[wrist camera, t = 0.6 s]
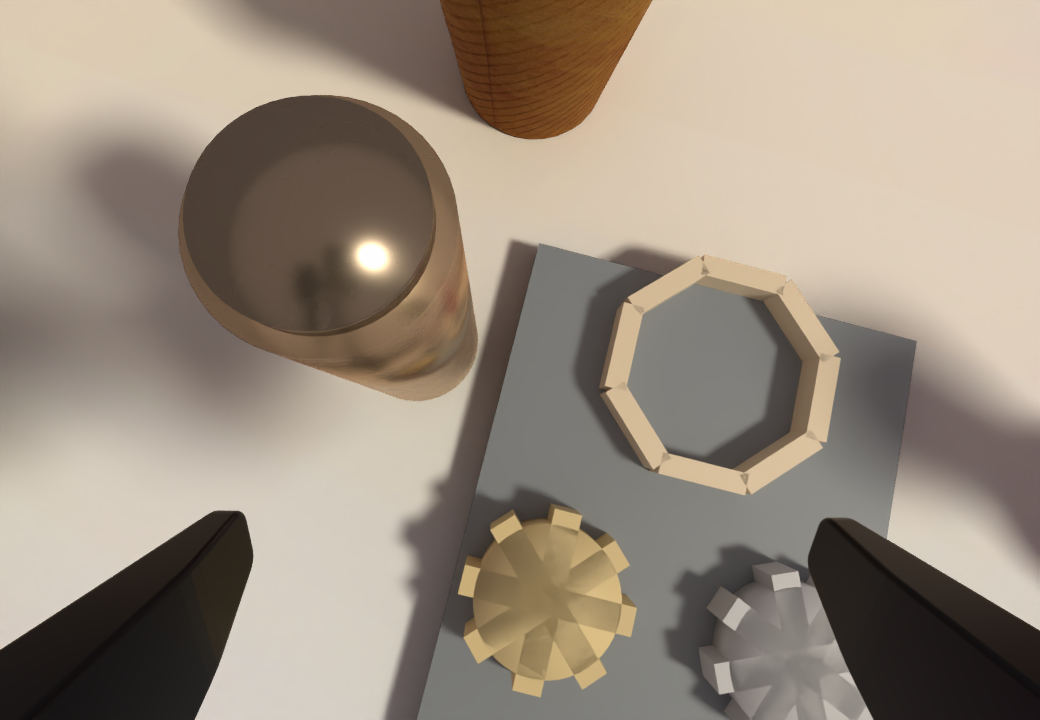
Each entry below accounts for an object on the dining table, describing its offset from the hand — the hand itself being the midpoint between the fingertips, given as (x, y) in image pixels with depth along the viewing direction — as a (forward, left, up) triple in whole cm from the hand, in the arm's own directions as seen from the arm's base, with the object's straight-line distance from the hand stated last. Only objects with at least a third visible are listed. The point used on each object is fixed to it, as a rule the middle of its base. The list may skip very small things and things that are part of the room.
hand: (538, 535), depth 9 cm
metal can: (0, +7, -14) cm, 15 cm away
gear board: (+3, -6, -14) cm, 16 cm away
